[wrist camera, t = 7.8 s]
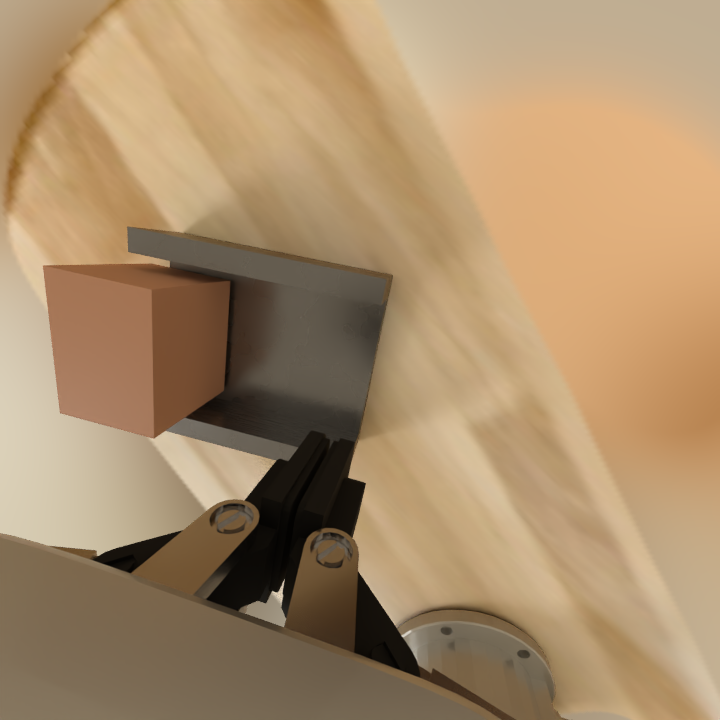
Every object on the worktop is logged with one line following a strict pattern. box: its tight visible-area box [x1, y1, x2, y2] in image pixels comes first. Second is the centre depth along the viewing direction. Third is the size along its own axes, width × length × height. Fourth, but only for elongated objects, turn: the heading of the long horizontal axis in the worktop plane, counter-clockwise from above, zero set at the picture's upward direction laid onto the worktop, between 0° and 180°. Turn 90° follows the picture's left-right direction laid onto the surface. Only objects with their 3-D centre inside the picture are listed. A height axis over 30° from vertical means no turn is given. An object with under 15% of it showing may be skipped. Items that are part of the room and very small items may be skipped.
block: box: [43, 264, 230, 438], centre depth 18 cm, size 5×7×6 cm
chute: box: [127, 227, 393, 461], centre depth 19 cm, size 13×11×4 cm
